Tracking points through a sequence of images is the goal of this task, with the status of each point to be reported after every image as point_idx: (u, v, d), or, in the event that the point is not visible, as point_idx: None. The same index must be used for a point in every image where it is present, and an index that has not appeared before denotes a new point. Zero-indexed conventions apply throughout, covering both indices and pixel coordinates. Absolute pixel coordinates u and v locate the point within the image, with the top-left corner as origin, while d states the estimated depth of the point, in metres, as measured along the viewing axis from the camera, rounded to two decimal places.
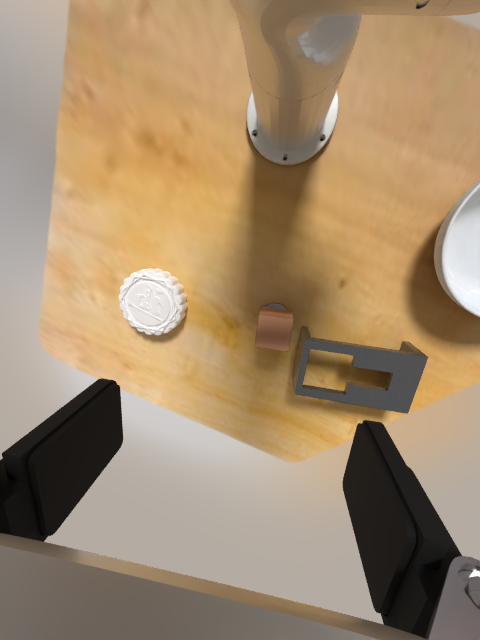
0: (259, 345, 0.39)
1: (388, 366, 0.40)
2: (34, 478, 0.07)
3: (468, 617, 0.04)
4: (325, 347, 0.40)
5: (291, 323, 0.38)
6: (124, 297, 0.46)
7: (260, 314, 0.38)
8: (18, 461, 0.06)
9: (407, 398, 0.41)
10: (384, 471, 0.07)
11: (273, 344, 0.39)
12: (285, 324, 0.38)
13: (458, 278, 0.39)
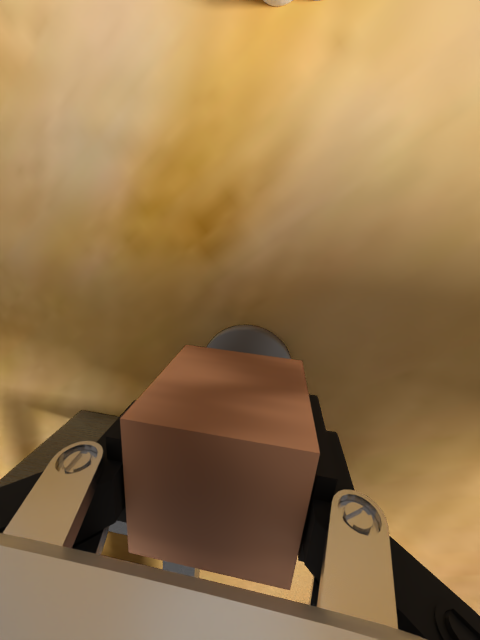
0: (132, 443, 0.07)
1: None
2: None
3: (347, 540, 0.05)
4: None
5: (270, 580, 0.08)
6: None
7: None
8: (120, 443, 0.07)
9: None
10: None
11: (150, 505, 0.07)
12: (264, 560, 0.07)
13: None
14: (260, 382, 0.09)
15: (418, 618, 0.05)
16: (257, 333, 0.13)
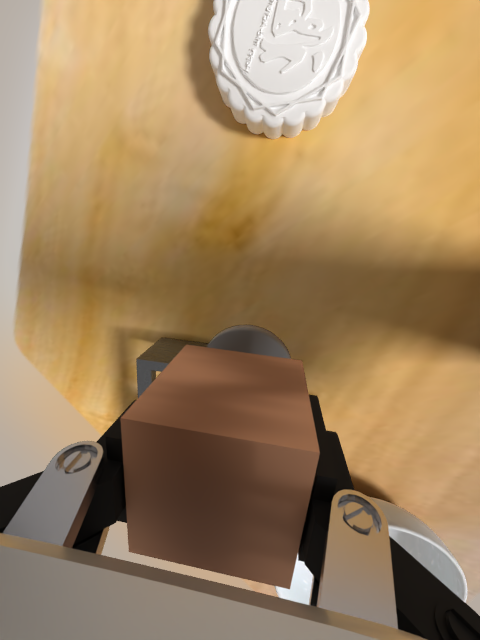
0: (132, 442, 0.07)
1: None
2: None
3: (347, 540, 0.05)
4: None
5: (270, 579, 0.08)
6: None
7: None
8: (120, 443, 0.07)
9: None
10: None
11: (150, 504, 0.07)
12: (264, 559, 0.07)
13: None
14: (261, 382, 0.09)
15: (418, 618, 0.05)
16: (257, 333, 0.13)
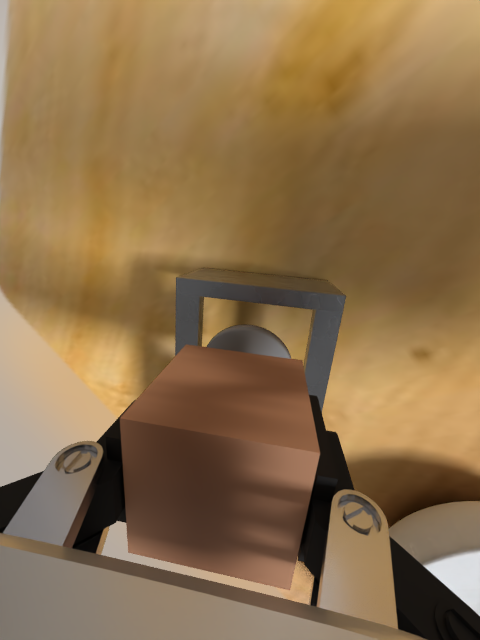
0: (132, 442, 0.07)
1: None
2: None
3: (347, 540, 0.05)
4: (319, 347, 0.16)
5: (270, 580, 0.08)
6: None
7: None
8: (120, 443, 0.07)
9: None
10: None
11: (149, 504, 0.07)
12: (264, 560, 0.07)
13: None
14: (260, 382, 0.09)
15: (418, 618, 0.05)
16: (257, 333, 0.13)
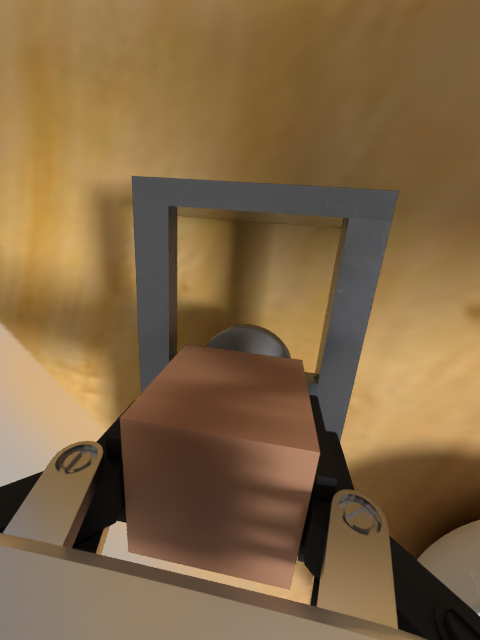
0: (131, 442, 0.07)
1: None
2: None
3: (347, 540, 0.05)
4: (352, 281, 0.10)
5: (270, 579, 0.08)
6: None
7: None
8: (120, 443, 0.07)
9: None
10: None
11: (149, 504, 0.07)
12: (264, 559, 0.07)
13: None
14: (260, 381, 0.09)
15: (418, 618, 0.05)
16: (257, 332, 0.13)
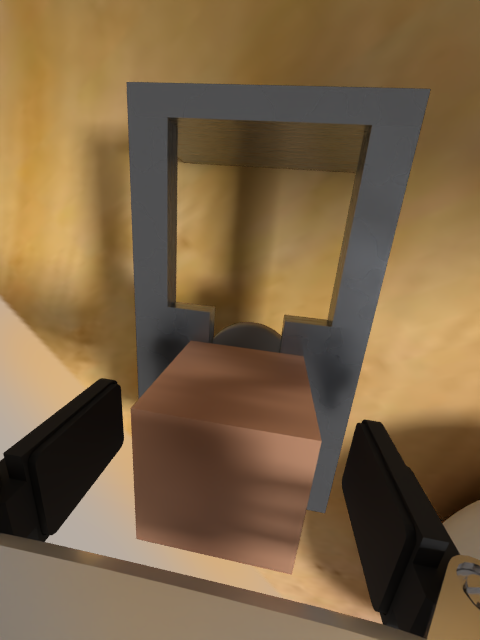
0: (141, 432, 0.07)
1: None
2: (35, 478, 0.07)
3: (466, 616, 0.04)
4: (374, 202, 0.09)
5: (273, 565, 0.08)
6: None
7: None
8: (20, 461, 0.06)
9: None
10: (383, 470, 0.07)
11: (158, 492, 0.08)
12: (267, 545, 0.08)
13: None
14: (264, 376, 0.09)
15: None
16: (259, 330, 0.14)
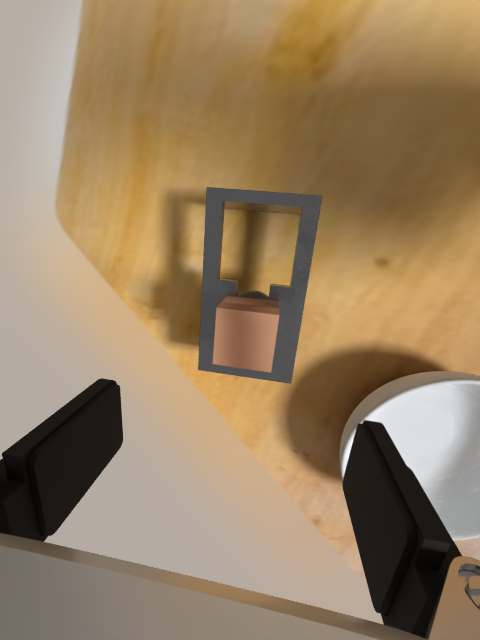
0: (219, 316, 0.21)
1: None
2: (34, 478, 0.07)
3: (468, 617, 0.04)
4: (304, 235, 0.23)
5: (264, 369, 0.22)
6: None
7: (278, 316, 0.21)
8: (18, 461, 0.06)
9: (222, 366, 0.28)
10: (384, 471, 0.07)
11: (223, 341, 0.22)
12: (262, 360, 0.22)
13: None
14: (261, 304, 0.23)
15: None
16: (259, 293, 0.28)
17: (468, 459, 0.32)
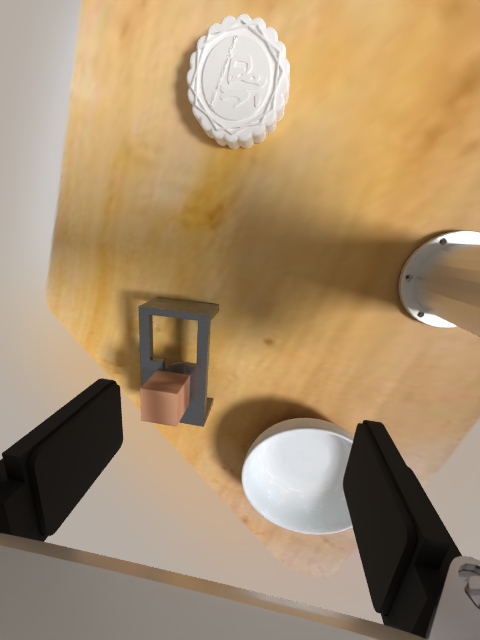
0: (142, 393, 0.34)
1: (189, 396, 0.39)
2: (34, 478, 0.07)
3: (468, 617, 0.04)
4: (201, 336, 0.36)
5: (172, 424, 0.35)
6: (245, 27, 0.28)
7: (178, 393, 0.34)
8: (18, 461, 0.06)
9: None
10: (384, 471, 0.07)
11: (146, 407, 0.34)
12: (170, 419, 0.34)
13: None
14: (173, 381, 0.36)
15: None
16: (182, 365, 0.41)
17: (340, 476, 0.45)
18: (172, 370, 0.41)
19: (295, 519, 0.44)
